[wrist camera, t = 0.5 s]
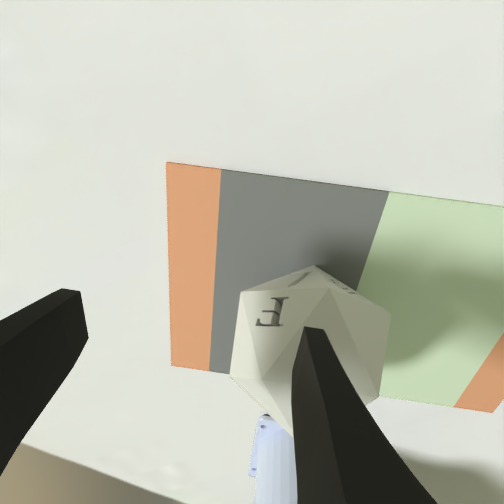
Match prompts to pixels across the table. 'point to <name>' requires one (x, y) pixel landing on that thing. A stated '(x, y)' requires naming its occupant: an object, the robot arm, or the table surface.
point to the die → (290, 331)
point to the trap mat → (344, 273)
